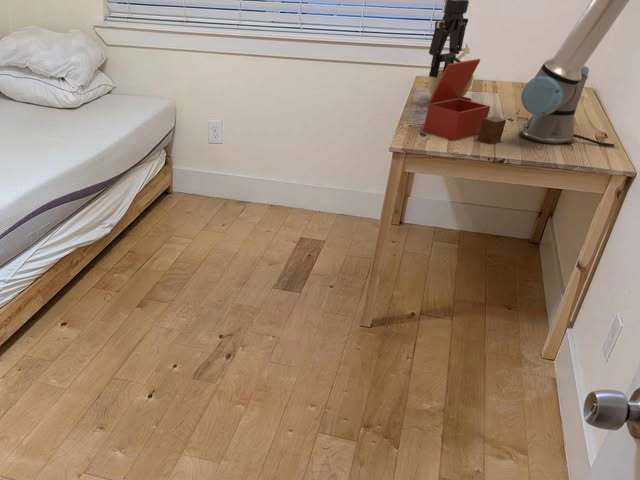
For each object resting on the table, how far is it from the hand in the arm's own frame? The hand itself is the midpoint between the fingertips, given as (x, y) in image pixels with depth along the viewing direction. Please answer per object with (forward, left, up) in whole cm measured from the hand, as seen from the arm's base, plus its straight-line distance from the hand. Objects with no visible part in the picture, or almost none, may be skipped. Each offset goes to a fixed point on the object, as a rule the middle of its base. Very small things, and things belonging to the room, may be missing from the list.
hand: (439, 75), depth 230 cm
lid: (-6, 0, -1) cm, 7 cm away
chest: (-10, 0, -16) cm, 19 cm away
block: (-23, -2, -16) cm, 29 cm away
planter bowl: (+16, -29, -17) cm, 37 cm away
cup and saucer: (+2, -17, -17) cm, 24 cm away
